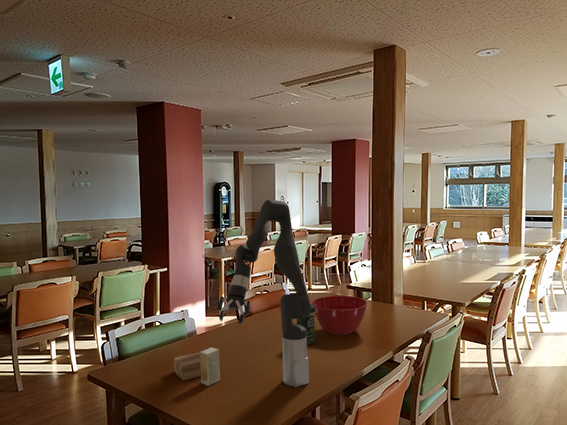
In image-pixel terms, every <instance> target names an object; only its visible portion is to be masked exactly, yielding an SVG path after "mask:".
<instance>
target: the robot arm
mask: <svg viewBox="0 0 567 425" xmlns="http://www.w3.org/2000/svg"><path fill="white" fill-rule="evenodd" d="M268 222H270V223H271V222H273V223H278V224H279V229H280V232H279V235H278V237H277V240H276V242H275V244H274V247H273V254H274V260H275V263H276V266H277V268H278V271H280V272H281V273H282V274H283V276H284V277H286V279H287V280H288V281H289V282H290V283H291V285H292V286H293V289H294V291H295V293H289V294H287V293H285V294H282V296H281V298H280V305H279V306H280V307H279V308H280V318H281V320H280V321H281V332H282V333H281V334H282V338H281V339H282V377H283V378H282V381H283V384H285V385H287V386H291V387H294V388H297V387H301V386H304V385H307V384H310V379H309V378H310V374H309V372H310V370H309V358H308V345H307V331H306V328H304V327H303V326H300V325H297V323H296V324H295V323H293V320H295V319H296V320H297V318H305V317H308V316H309V315H310V313H311V305H310V304H311V301H310V296H309V293H308V290H307V287H306V284H305V280H304V277H303V272H302V269H301V265H300V260H299V255H298V250H297V247H296V242H295V237H294V234H293V226H292V220H291V212H290V206H289V204H288V203H287V202H286V201H285V200H277V199H276V200H274V199H267V200H265V201H264V202H263V203H262V205H261V207H260V210H259V213H258V216H257V219H256V221H255V223H254V226H253V229H252V230H251V233H250V235H249V236H248V238H247V239H246V241H245V244H239V246H237V248H236V252H235V259H236V261H235V262H236V264H235V269H234V270H235V271H234V274H233V277H232V280H231V283H230V287H229V292H228V294H227V295H228V296H227V297H225V296H222V295H221V296H220V298H219V302H218V304H217V307H216V308H217V310H218V311H220V312H219V317H218V319H219V321H221V322H222V321H223V320H224V316H225V312H226V311H228V310H229V309H231V310H239V312H240V314H239V319H238V325H242V324H243V323H244V318H245V316H249V315H250V309H251V305H252V302H251V301H250V300H245V299H246V294H247V290H248V287H249V280H250V277H251V276H250V275H251V271H252V268H251V267H250V266H249V265H248V264H246V263H247V262H248V263H251V264H253V263H255V262H257V260H258V258H259V253H260V252H259V251H260V249H261V247H262V246H263V244H264V243H265V240H266V239H267V230H266V226H265V225H266V224H267V223H268ZM245 262H246V263H245ZM225 302H226V303H225ZM224 303H225V304H224ZM244 305H245V306H246V308H245V311H244V309H243V306H244Z"/></svg>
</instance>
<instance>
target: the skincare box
mask: <svg viewBox="0 0 567 425" xmlns="http://www.w3.org/2000/svg"><path fill="white" fill-rule="evenodd" d="M199 354H200V368H201V376H200V383H201V384H203V385H205V386H207V387H209V386H211V385H213V384H215V383H217V382H219V381H221V371H220V367H221V366H220V350H219V348H215V347H212V346H211V347H209V348H207V349H204V350H201V351H199Z"/></svg>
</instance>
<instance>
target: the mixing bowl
mask: <svg viewBox="0 0 567 425" xmlns="http://www.w3.org/2000/svg"><path fill="white" fill-rule="evenodd" d="M311 304H314V306H315V317H316V319H317V321H318V324H319V325H320V327H321V328H322V330H324V332H326V333H328V334H330V335H333V336H348V335H351V334H353V332H356V331H357V330H358V329H359V327H360V325H361V323H362V321H363V318H364V316H365V312H366V308H367V306H368V301H367V300H366V299H364V298H360V297H357V296H350V295H330V296H323V297H318V298H315V299H313V300H312V301H311Z"/></svg>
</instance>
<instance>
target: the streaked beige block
mask: <svg viewBox="0 0 567 425" xmlns="http://www.w3.org/2000/svg"><path fill="white" fill-rule="evenodd" d="M173 370H174V371H175V372H176V373H175V372H174V373H175V374H176V375H177V376H178V377H179V379H180V378H181V379H182V380H181V379H180V380H181V381H185V379H186V380H191V379H194V378H197V377H201V368H200V352H195V353H190V354H184V355H180V356H176V357H175V356H174V357H173Z"/></svg>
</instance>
